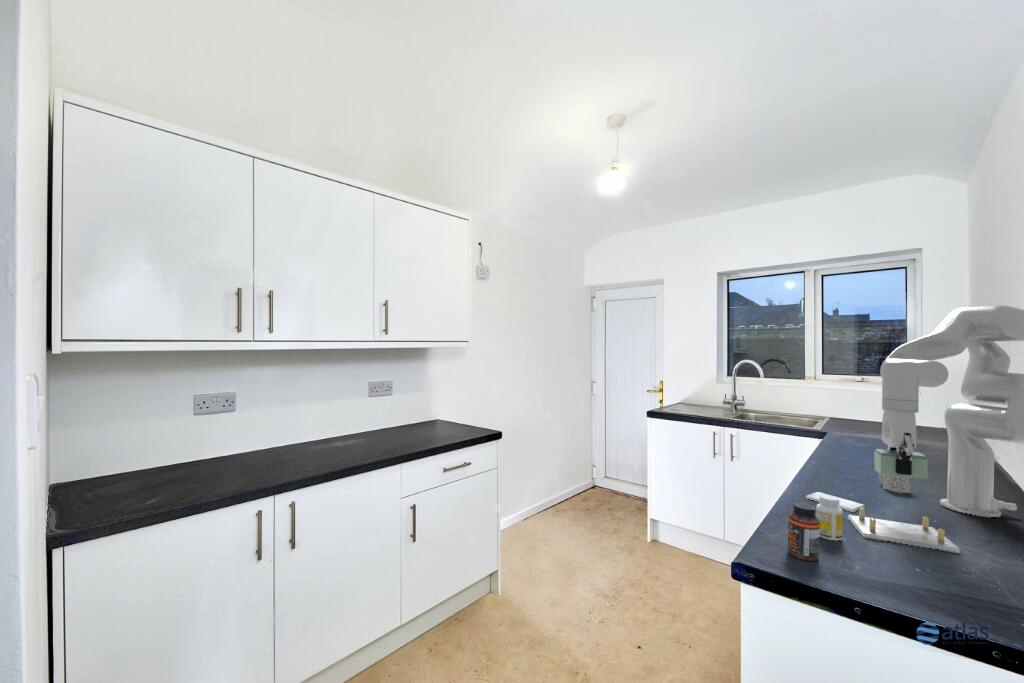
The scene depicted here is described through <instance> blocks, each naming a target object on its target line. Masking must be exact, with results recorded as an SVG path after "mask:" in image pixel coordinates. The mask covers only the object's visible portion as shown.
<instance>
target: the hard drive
mask: <svg viewBox="0 0 1024 683" xmlns="http://www.w3.org/2000/svg"><path fill="white" fill-rule="evenodd" d="M820 495H829V496H833V497H836V498H838V499H839V505H838V507H839V508H841V509H843V510H842V511H845V510H846V512H849V511H850V513H852V512H853V513H855V512H858V511H859V508H860V507H861V508H865V509H866V505H865V504H862V503H859V502H856V501H853V500H848V499H845V498H842V497H838V496H835V495H830V494H827V493H824V492H821V491H816V492H813V493H810V494H808V495H806V496H805V499H806V498H807V499H806V500H808V499H810V500H809V501H811V500H814V501H813V502H815V501H817V502H816V503H818V502H820ZM820 503H821V502H820ZM820 503H819V504H820ZM857 510H858V511H857Z"/></svg>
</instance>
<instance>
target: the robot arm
mask: <svg viewBox="0 0 1024 683" xmlns="http://www.w3.org/2000/svg"><path fill="white" fill-rule="evenodd" d="M996 342H1024V309H1022V308H1017V307H1013V306H1009V305H1008V306H1007V305H999V304H998V305H981V306H980V305H979V306H965V307H959V308H958V307H957V308H956V309H955V308H954V310H952V311H950V312H949V313H948V314H947V315H946V316H945V318H944V319H942V320H941V321H940V322H939V324H938V325H937V326H936V327H935V328H934V329H933V330H932V331H931V332H930V333H929V334H927V335H924V336H922V337H918V338H917V339H914V340H911V341H909V342H906V343H904V344H901V345H900V346H898V347H896V348H895V349H894V350H893V351H891V353H890V354H889V355H888V356H887V357H886V358H885V359H884V360H883V362H882V364H881V366H880V371H879V374H880V376H881V380H882V382H881V383H882V385H881V387H882V388H881V389H882V390H881V392H882V393H881V397H882V398H881V410H883V413H882V421H881V422H882V423H881V435H880V436H881V438H880V439H881V441H882V442H883V443H884V444H885V445H887V450H895V451H897V458H898V459H896V473H897V474H904V475H911V474H912V455H913V454H912V453H913V452H915V449H916V447H917V422H916V421H917V420H916V414H917V413H919V398H920V397H919V395H920V394H919V392H920V391H919V390H920V389H919V388H920V387H922V388H937V387H940V386H942V385H944V384H945V383H946V382H947V380H948V378H949V370H948V368H947V367H946V366H945V364H943V363H942V362H940V361H937V360H942V359H946V358H947V359H948V358H952V357H955V356H959V355H960V354H962V353H963V352H964V351H965V350H966V349H967V350H968V353H969V354H968V355H969V359H968V363H967V365H966V370H965V373H964V376H963V379H962V382H961V385H960V386H961V388H960V393H961V396H962V397H963V398H964V399H966V400H968V401H970V402H974V404H973V403H955V404H952V405H950V406H948V407H947V409H946V410H945V412H944V422H945V427H946V432H947V442H948V444H947V445H948V448H947V449H948V450H947V452H948V453H947V455H948V456H947V485H946V486H947V490H946V494H947V495H946V496H947V497H946V498H941V499H940V500H939V504H940V506H942V507H944V508H946V509H948V508H949V509H948V510H951V511H954V510H955V511H954V512H957V511H958V513H961V512H962V514H965V513H967V514H966V515H969V514H972V515H971V516H975V515H976V517H983V518H991V517H996V518H1001V516H1002V512H1001V510H1003V509H1004V510H1007V511H1008V510H1010V511H1014V512H1015V511H1017V509H1018V506H1017V504H1016V503H1013V502H1012V503H1011V502H1005V501H1004V500H998V499H996V498H995V497H994V488H995V487H994V484H995V483H994V482H995V480H994V479H995V453H994V450H993V448H992V447H991V445H990V443H988V442H987V440H995V441H1000V442H1006V443H1014V444H1018V443H1023V442H1024V373H1020V372H1019V373H1017V372H1009V369H1010V364H1011V358H1010V356H1009V354H1008V353H1007V352H1006V351H1005V349H1003V348H1002V347H1001V346H1000V345H999V344H997V343H996ZM975 402H976V403H983V404H975ZM984 404H990V405H991V404H992V405H993V404H994V405H998V406H992V405H991V406H990V405H984ZM1000 405H1001V406H1007V407H1000ZM986 439H987V440H986ZM901 451H903V452H902V453H901Z"/></svg>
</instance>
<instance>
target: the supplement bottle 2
mask: <svg viewBox="0 0 1024 683" xmlns="http://www.w3.org/2000/svg"><path fill="white" fill-rule="evenodd" d="M829 495H830V494H828V495H820V502H821V503H818V504H816V506H815V516H816V517H817V518H818V519H819V521H820V538H821V537H822V539H825V540H827V539H828V541H833V540H834V542H837V541H838V540H840V541H842V540H843V519H844V518H843V515H844V514H843V510H842V509H841V508H839V507H838V505H839V499H838V498H839V497H838V498H836V497H837V496H835V497H833V496H834V495H831V496H829ZM838 542H839V541H838Z"/></svg>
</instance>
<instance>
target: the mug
mask: <svg viewBox="0 0 1024 683" xmlns="http://www.w3.org/2000/svg"><path fill="white" fill-rule="evenodd" d="M878 477H879V478H878V479H879V482H881V483H882V489H883V488H884V489H883V490H885V489H887V490H889V491H888V492H890V491H893V492H892V493H895V492H897V493H896V494H901V493H909V494H910V483H911V482H910V481H911V480H910V479H911V478H910V477H900V476H889V475H881V474H879V473H878ZM887 490H886V491H887Z"/></svg>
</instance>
